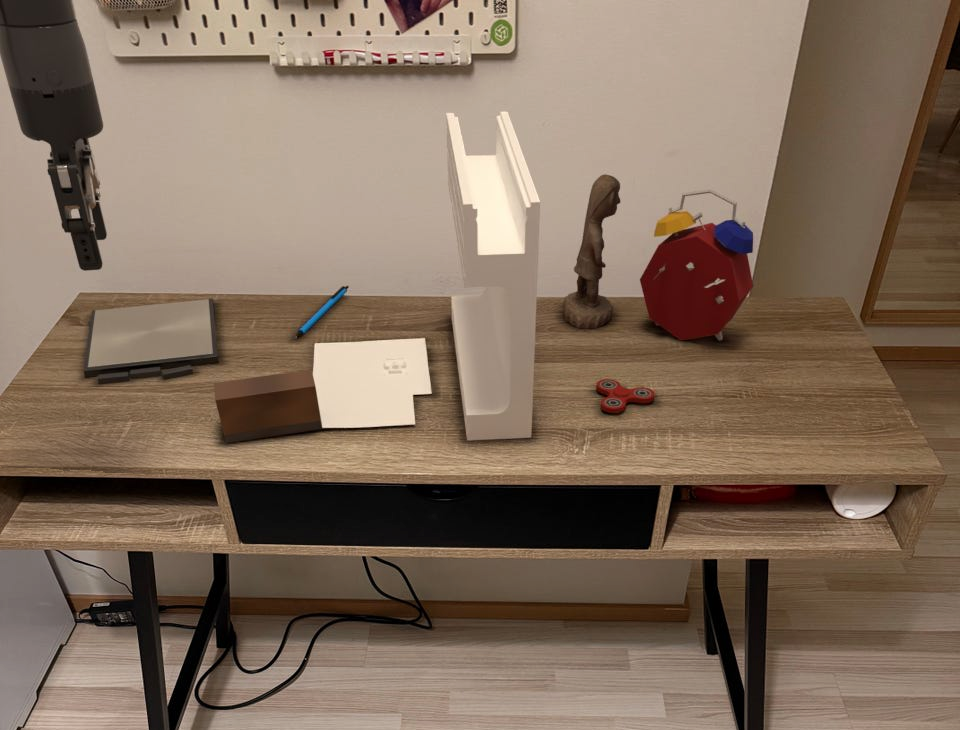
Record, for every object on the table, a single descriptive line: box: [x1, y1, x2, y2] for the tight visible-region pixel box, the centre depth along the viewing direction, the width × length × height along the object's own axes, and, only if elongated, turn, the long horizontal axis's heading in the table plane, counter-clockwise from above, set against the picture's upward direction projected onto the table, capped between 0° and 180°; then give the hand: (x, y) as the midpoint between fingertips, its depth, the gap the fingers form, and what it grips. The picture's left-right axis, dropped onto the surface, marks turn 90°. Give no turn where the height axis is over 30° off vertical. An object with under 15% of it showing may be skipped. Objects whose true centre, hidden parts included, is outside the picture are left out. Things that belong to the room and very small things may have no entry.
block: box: [445, 111, 541, 441], centre depth 119 cm, size 35×8×28 cm, turn 4°
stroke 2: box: [129, 367, 162, 380], centre depth 128 cm, size 4×1×1 cm, turn 104°
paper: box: [312, 337, 432, 429], centre depth 126 cm, size 25×17×1 cm
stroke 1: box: [97, 372, 131, 385], centre depth 127 cm, size 4×1×1 cm, turn 103°
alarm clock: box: [639, 189, 754, 341], centre depth 130 cm, size 15×9×20 cm, turn 59°
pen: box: [295, 285, 350, 339], centre depth 143 cm, size 1×19×1 cm, turn 163°
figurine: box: [562, 174, 621, 330], centre depth 135 cm, size 9×8×20 cm
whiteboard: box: [83, 298, 220, 378], centre depth 136 cm, size 18×20×1 cm
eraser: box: [213, 368, 323, 444], centre depth 116 cm, size 12×4×6 cm, turn 104°
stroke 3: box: [161, 365, 194, 380], centre depth 128 cm, size 4×1×1 cm, turn 115°
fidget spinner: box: [595, 378, 656, 414], centre depth 123 cm, size 8×7×1 cm
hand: (94, 253), depth 98 cm, fingers open, 8 cm apart
